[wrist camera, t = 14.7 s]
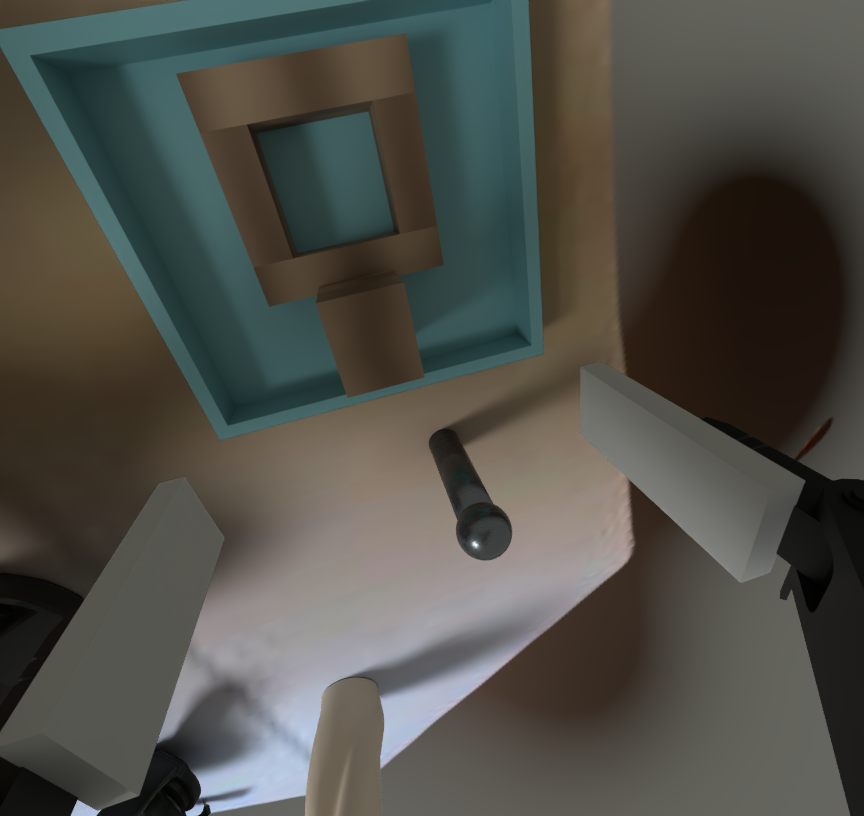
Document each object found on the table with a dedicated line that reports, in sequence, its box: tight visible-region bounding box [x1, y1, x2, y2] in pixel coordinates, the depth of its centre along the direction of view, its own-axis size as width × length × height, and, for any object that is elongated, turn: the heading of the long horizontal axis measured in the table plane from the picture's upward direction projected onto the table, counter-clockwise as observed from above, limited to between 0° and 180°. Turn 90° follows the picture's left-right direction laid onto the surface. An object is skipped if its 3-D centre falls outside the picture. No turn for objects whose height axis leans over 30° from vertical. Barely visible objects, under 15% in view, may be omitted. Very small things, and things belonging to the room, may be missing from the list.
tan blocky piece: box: [176, 34, 444, 398], centre depth 24 cm, size 12×18×8 cm
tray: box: [0, 0, 544, 440], centre depth 26 cm, size 26×23×4 cm
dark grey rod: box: [429, 429, 512, 560], centre depth 32 cm, size 4×4×14 cm
